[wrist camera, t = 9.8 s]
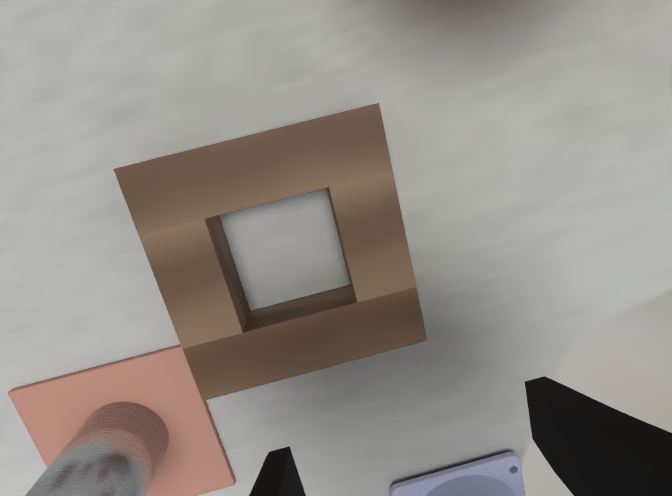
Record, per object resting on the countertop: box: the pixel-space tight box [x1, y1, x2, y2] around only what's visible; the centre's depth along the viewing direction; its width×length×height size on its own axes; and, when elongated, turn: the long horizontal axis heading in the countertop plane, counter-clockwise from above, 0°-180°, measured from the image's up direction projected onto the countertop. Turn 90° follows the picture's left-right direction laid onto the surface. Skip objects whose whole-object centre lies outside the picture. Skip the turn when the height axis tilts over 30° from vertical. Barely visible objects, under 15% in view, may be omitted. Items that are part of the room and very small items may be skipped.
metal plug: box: [25, 402, 169, 496], centre depth 17 cm, size 4×4×6 cm
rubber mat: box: [8, 345, 236, 496], centre depth 20 cm, size 9×9×1 cm
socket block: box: [114, 103, 427, 401], centre depth 18 cm, size 11×11×2 cm
